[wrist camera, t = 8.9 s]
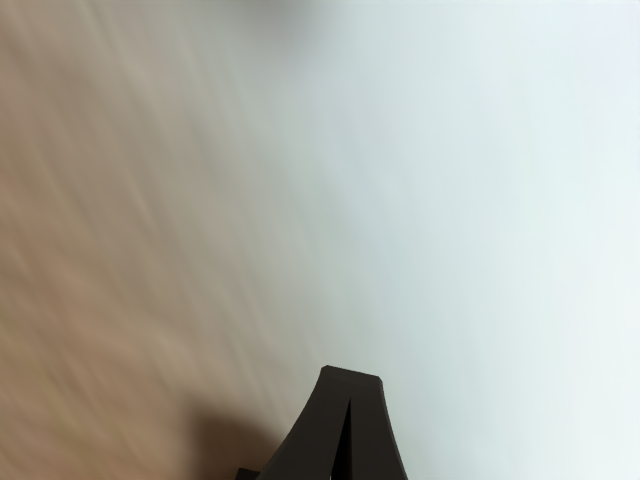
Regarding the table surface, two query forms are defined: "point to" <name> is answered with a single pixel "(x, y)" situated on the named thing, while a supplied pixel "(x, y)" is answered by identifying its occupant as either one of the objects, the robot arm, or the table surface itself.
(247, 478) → the digital camera
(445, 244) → the table surface
